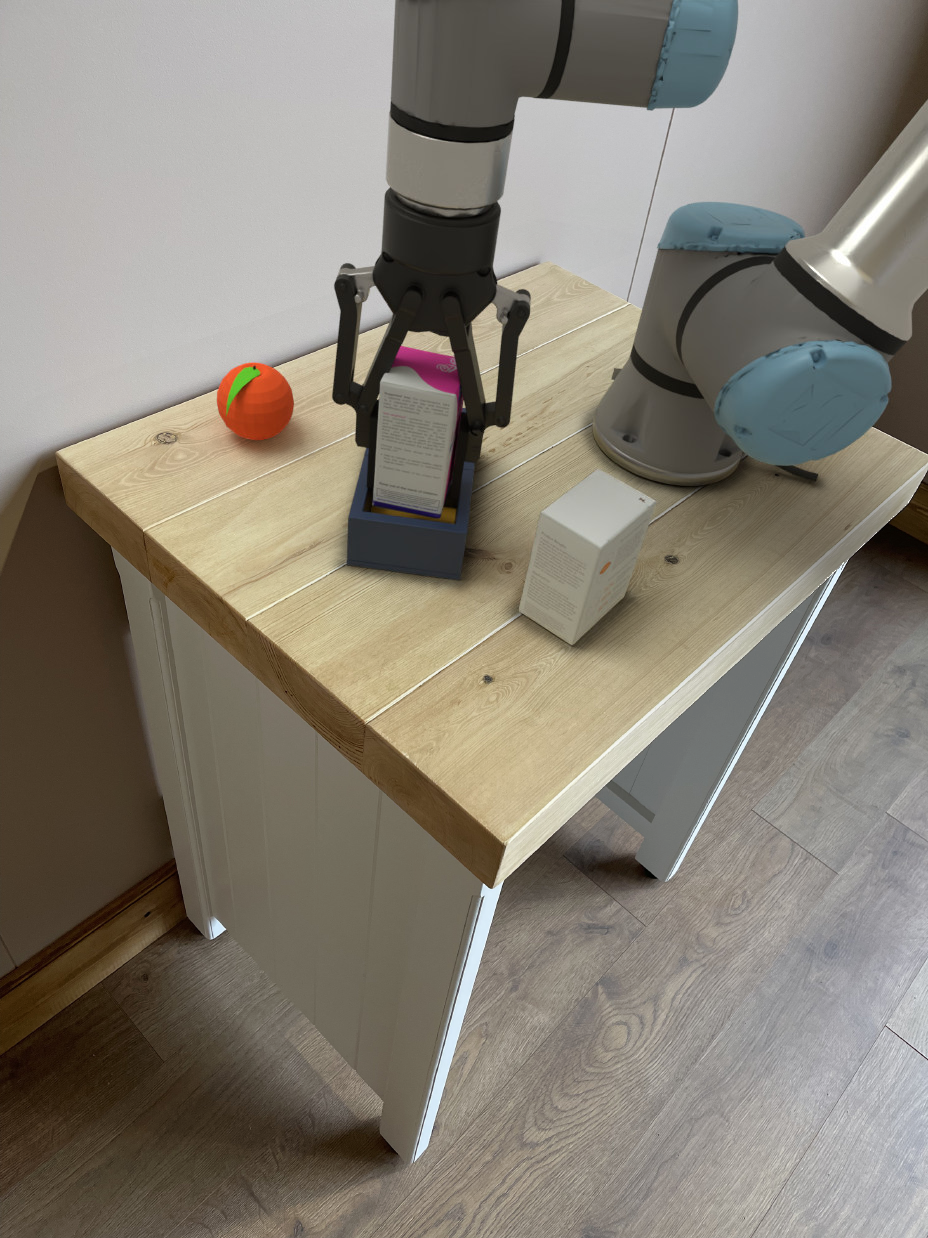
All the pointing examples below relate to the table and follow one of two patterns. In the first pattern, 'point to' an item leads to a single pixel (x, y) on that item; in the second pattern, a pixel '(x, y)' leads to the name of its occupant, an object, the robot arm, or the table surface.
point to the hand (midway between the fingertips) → (414, 483)
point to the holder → (409, 533)
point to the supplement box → (417, 432)
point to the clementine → (255, 401)
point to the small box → (584, 554)
